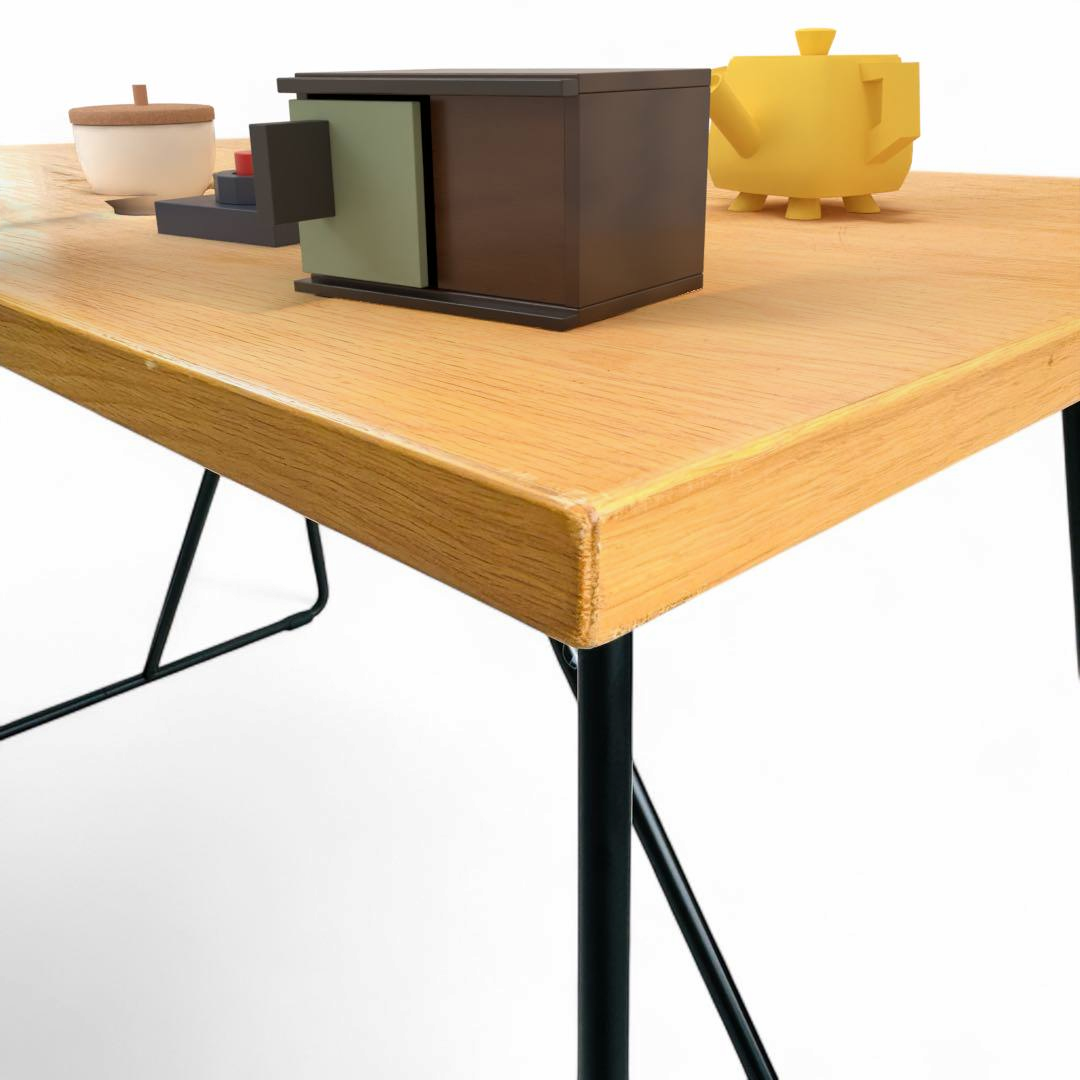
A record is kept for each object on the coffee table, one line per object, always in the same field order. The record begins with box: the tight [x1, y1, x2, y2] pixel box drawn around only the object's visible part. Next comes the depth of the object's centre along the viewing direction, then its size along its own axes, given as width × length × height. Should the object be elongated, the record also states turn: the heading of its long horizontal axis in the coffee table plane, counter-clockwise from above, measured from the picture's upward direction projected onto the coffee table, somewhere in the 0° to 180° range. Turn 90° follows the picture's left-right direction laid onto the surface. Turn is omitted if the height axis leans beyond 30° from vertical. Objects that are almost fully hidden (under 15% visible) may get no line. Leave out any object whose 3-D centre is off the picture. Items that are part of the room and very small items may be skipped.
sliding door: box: [248, 98, 428, 288], centre depth 57 cm, size 5×8×8 cm, turn 53°
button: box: [233, 149, 253, 175], centre depth 82 cm, size 4×4×2 cm
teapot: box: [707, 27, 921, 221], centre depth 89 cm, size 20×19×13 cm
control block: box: [154, 168, 300, 249], centre depth 83 cm, size 12×10×4 cm
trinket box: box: [68, 84, 217, 217], centre depth 94 cm, size 11×11×9 cm
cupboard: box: [276, 67, 712, 332], centre depth 61 cm, size 12×17×11 cm
